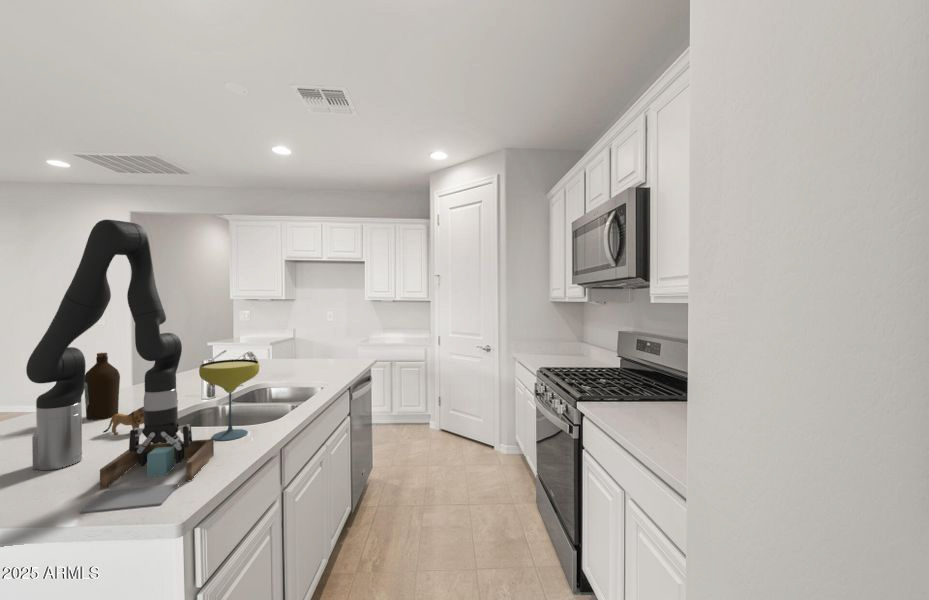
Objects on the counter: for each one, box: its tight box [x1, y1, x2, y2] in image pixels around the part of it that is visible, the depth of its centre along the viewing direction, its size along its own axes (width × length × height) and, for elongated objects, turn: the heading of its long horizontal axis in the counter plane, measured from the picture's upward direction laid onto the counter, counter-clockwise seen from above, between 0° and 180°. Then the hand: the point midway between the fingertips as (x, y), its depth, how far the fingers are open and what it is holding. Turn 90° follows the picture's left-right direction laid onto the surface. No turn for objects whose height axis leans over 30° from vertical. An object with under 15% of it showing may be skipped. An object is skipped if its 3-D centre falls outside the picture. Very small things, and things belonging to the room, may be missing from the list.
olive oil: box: [84, 352, 121, 421], centre depth 160 cm, size 11×11×25 cm
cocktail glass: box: [198, 358, 260, 442], centre depth 142 cm, size 18×18×25 cm
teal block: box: [146, 446, 175, 477], centre depth 114 cm, size 4×5×6 cm
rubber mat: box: [78, 483, 180, 514], centre depth 99 cm, size 16×10×1 cm, turn 105°
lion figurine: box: [102, 406, 144, 436], centre depth 144 cm, size 15×5×9 cm, turn 104°
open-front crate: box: [99, 438, 215, 490], centre depth 114 cm, size 20×17×5 cm
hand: (161, 463), depth 114 cm, fingers open, 8 cm apart
